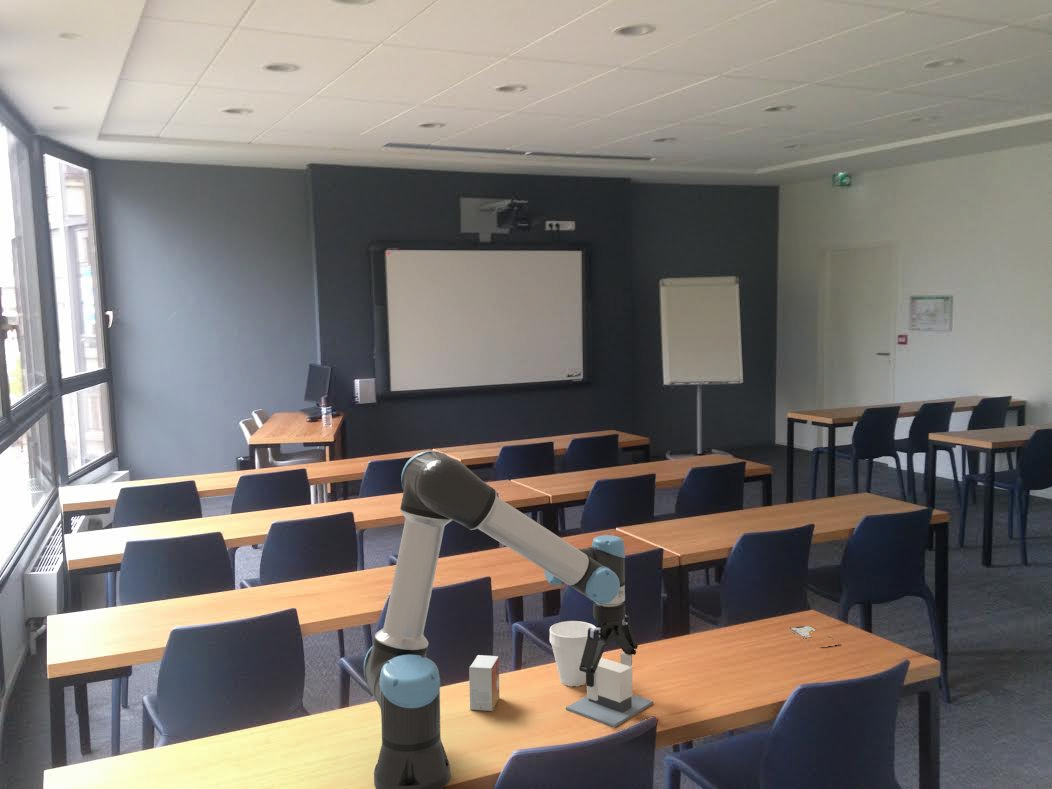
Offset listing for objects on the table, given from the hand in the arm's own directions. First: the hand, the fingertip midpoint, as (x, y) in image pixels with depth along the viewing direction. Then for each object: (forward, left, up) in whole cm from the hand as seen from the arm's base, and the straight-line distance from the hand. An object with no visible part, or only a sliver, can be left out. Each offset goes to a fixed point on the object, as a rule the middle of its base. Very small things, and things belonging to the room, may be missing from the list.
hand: (609, 689), depth 197 cm
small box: (-18, +24, -4) cm, 30 cm away
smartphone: (+74, -19, -5) cm, 77 cm away
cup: (+6, +16, -4) cm, 17 cm away
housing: (0, 0, -1) cm, 1 cm away
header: (0, 0, -4) cm, 4 cm away
